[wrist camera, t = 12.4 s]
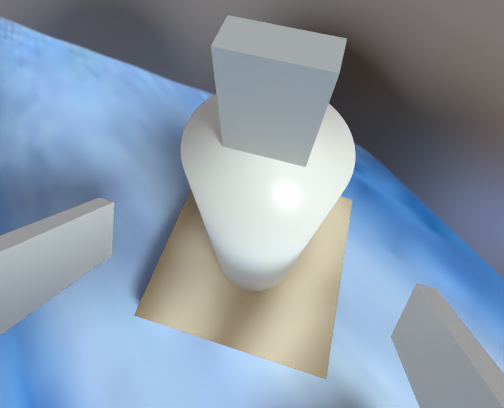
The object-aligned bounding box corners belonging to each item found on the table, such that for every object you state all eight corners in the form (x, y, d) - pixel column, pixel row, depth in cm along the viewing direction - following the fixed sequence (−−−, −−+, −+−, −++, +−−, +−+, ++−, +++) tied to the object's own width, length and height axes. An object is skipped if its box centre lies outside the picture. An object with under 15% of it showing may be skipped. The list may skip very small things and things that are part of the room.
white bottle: (208, 279, 18) (91, 107, 4) (231, 212, 20) (202, -44, 6) (281, 301, 17) (410, 187, 4) (298, 230, 19) (418, -6, 6)
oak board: (144, 317, 19) (134, 315, 17) (206, 174, 24) (203, 160, 22) (317, 374, 17) (326, 379, 16) (343, 210, 22) (352, 199, 21)
